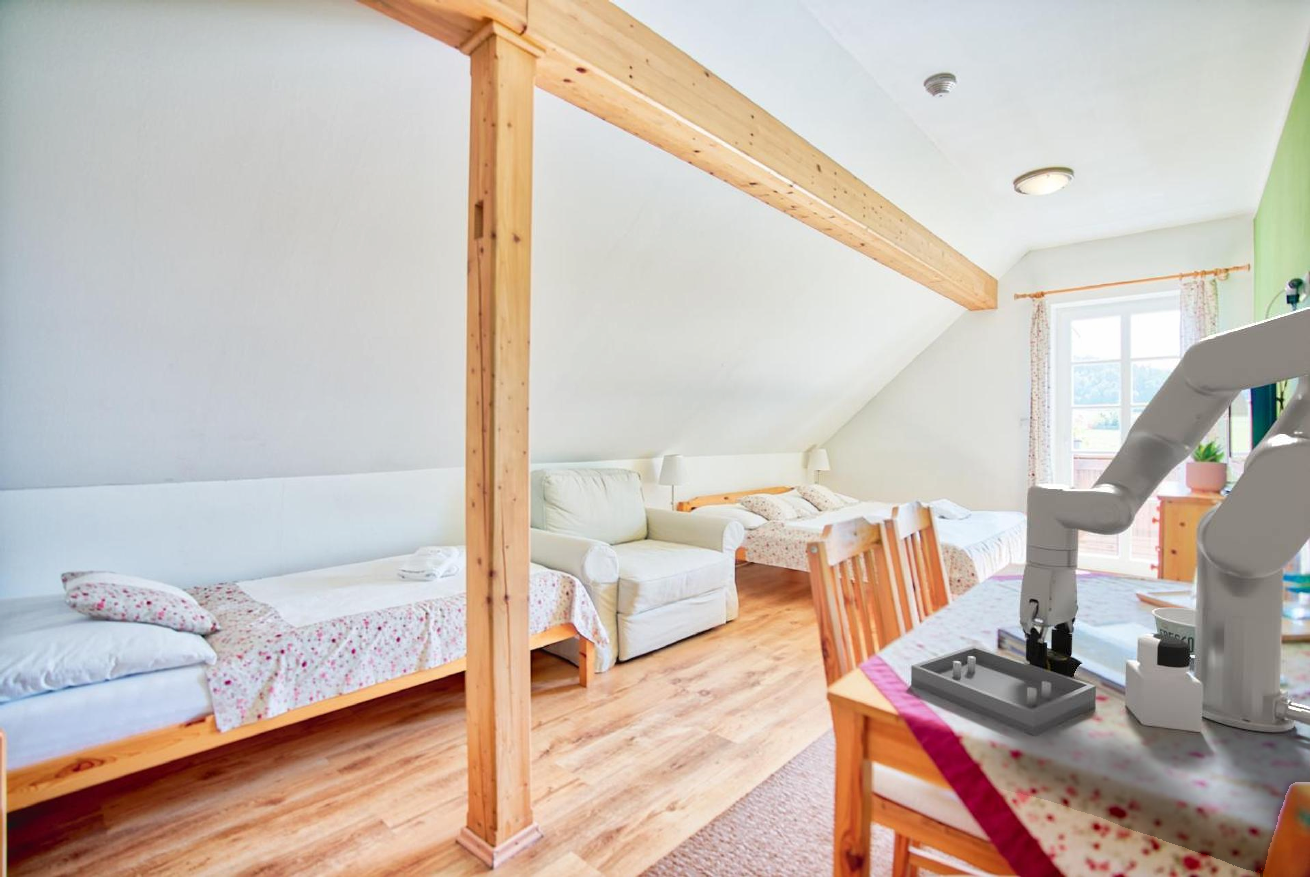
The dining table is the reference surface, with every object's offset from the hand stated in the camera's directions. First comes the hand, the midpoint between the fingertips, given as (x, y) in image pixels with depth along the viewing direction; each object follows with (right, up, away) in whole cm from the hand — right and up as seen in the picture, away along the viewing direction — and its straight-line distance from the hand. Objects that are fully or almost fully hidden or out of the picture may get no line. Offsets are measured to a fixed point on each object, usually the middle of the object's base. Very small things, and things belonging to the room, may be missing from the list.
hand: (1048, 658), depth 111 cm
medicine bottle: (+7, -3, -16) cm, 18 cm away
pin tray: (-13, -3, -8) cm, 16 cm away
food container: (+33, -2, +10) cm, 34 cm away
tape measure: (+1, -3, 0) cm, 3 cm away
